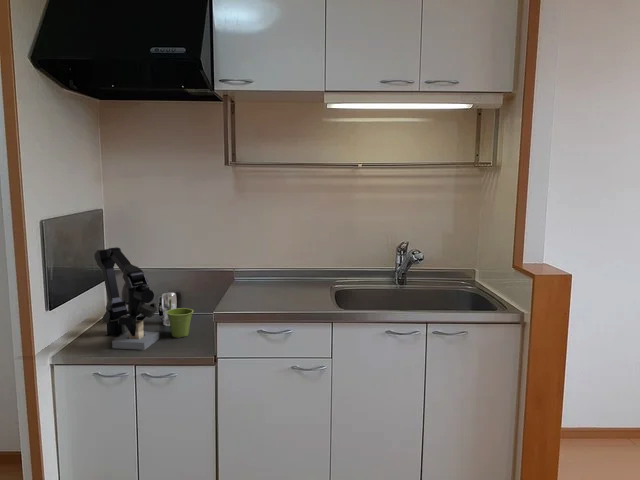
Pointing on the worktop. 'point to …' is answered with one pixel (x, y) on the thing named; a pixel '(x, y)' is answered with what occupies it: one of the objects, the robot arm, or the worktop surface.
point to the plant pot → (180, 321)
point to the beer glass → (168, 305)
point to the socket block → (135, 341)
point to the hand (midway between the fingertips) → (136, 334)
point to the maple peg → (138, 331)
